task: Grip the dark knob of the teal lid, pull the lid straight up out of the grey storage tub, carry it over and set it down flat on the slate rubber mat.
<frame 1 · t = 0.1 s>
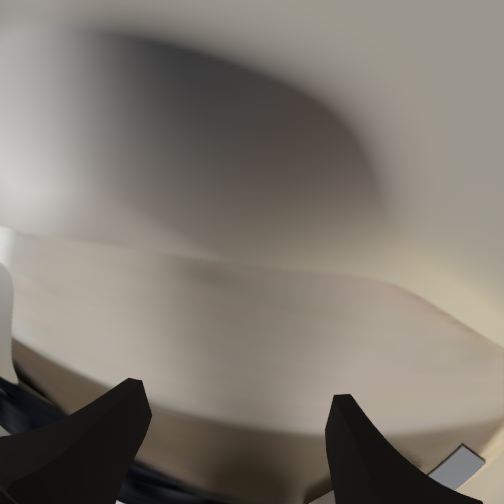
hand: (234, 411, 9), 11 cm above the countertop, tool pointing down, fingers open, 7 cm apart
grey tub: (356, 499, 21), on the countertop
slate mat: (443, 482, 20), on the countertop
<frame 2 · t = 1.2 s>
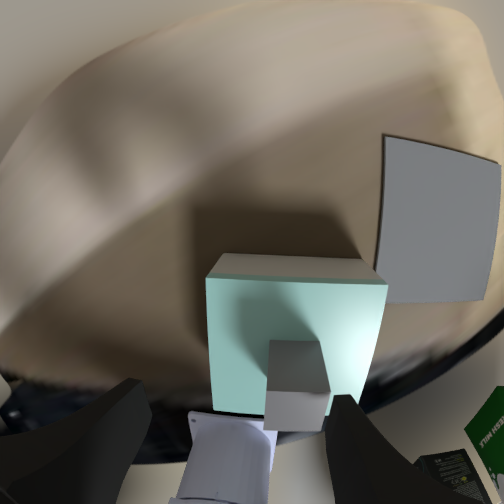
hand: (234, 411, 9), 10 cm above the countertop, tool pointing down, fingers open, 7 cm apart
grey tub: (289, 319, 19), on the countertop
teal lid: (292, 352, 15), point 4 cm above the countertop, touching grey tub
tampon box: (423, 471, 24), on the countertop
slate mat: (446, 228, 16), on the countertop
milk carton: (493, 406, 20), on the countertop
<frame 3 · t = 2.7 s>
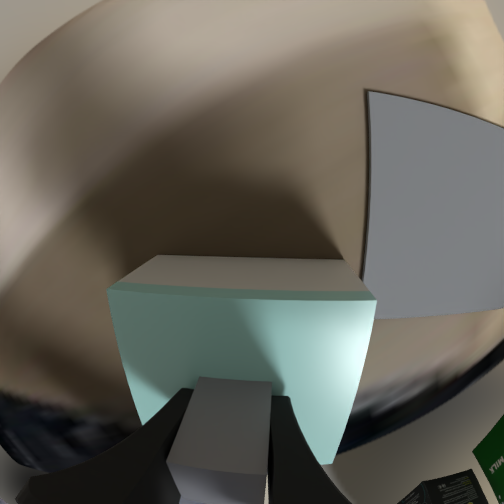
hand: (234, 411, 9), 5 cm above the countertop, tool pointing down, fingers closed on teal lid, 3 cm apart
grey tub: (248, 341, 14), on the countertop
teal lid: (238, 391, 10), point 4 cm above the countertop, touching grey tub, gripper
tampon box: (425, 494, 19), on the countertop
slate mat: (459, 215, 12), on the countertop
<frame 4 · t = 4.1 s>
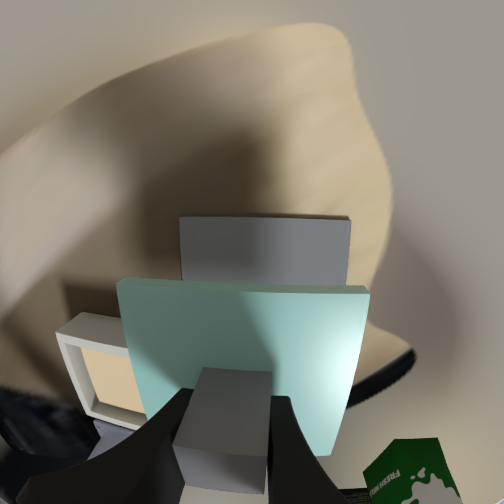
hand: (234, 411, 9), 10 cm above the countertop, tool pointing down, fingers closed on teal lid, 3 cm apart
grey tub: (133, 363, 22), on the countertop
teal lid: (240, 382, 11), point 8 cm above the countertop, touching gripper
tampon box: (332, 501, 26), on the countertop
slate mat: (263, 298, 19), on the countertop
milk carton: (400, 454, 23), on the countertop
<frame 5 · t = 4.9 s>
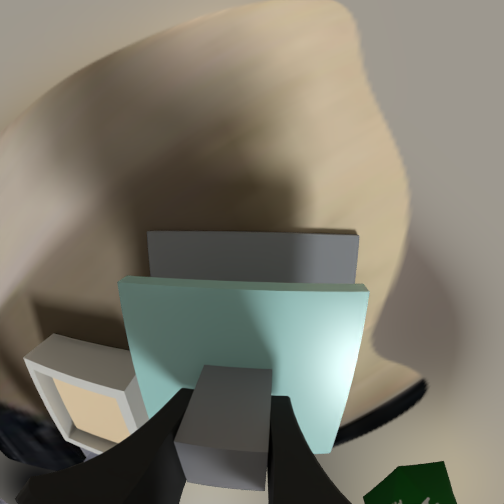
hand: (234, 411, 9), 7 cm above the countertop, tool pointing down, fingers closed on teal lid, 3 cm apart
grey tub: (110, 390, 18), on the countertop
teal lid: (240, 380, 11), point 5 cm above the countertop, touching gripper
slate mat: (250, 329, 16), on the countertop
milk carton: (403, 479, 19), on the countertop
when the fingers open (4 cm above the countertop, at t = 5.7 s): teal lid stays where it is, resting on slate mat.
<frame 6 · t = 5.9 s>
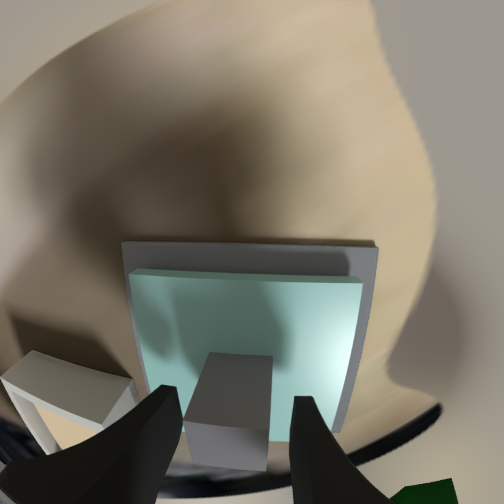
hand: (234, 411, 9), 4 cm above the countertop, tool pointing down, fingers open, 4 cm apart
grey tub: (94, 412, 15), on the countertop
teal lid: (243, 367, 12), point 1 cm above the countertop, touching slate mat
slate mat: (245, 357, 13), on the countertop
milk carton: (409, 496, 17), on the countertop
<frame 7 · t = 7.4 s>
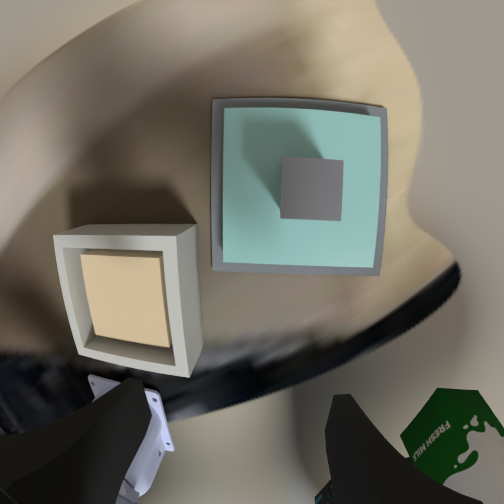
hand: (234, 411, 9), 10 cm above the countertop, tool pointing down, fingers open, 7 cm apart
grey tub: (141, 285, 19), on the countertop
teal lid: (302, 186, 16), point 1 cm above the countertop, touching slate mat
tampon box: (361, 478, 24), on the countertop
slate mat: (301, 185, 17), on the countertop
milk carton: (440, 412, 21), on the countertop
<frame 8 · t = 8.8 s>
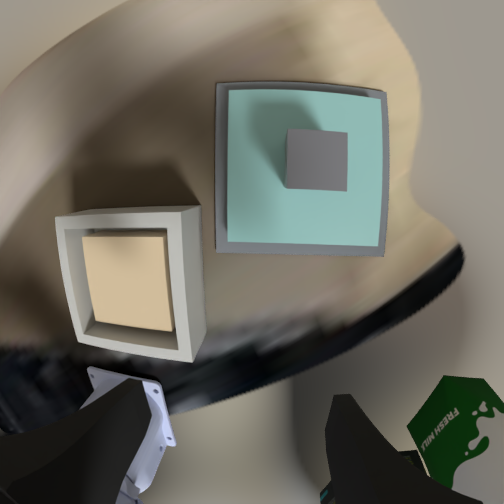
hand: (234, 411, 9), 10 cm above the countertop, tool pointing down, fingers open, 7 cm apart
grey tub: (143, 269, 19), on the countertop
teal lid: (306, 166, 16), point 1 cm above the countertop, touching slate mat
tampon box: (367, 472, 24), on the countertop
slate mat: (305, 166, 17), on the countertop
milk carton: (446, 401, 21), on the countertop
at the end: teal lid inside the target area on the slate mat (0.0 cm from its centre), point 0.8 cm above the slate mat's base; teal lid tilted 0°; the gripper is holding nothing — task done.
